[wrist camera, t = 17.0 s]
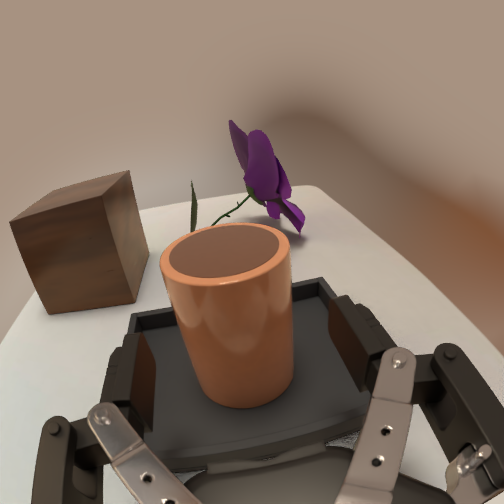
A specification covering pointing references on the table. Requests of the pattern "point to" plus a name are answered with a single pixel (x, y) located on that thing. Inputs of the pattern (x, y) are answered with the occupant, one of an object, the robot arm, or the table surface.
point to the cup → (234, 310)
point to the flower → (260, 178)
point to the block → (84, 244)
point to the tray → (258, 418)
